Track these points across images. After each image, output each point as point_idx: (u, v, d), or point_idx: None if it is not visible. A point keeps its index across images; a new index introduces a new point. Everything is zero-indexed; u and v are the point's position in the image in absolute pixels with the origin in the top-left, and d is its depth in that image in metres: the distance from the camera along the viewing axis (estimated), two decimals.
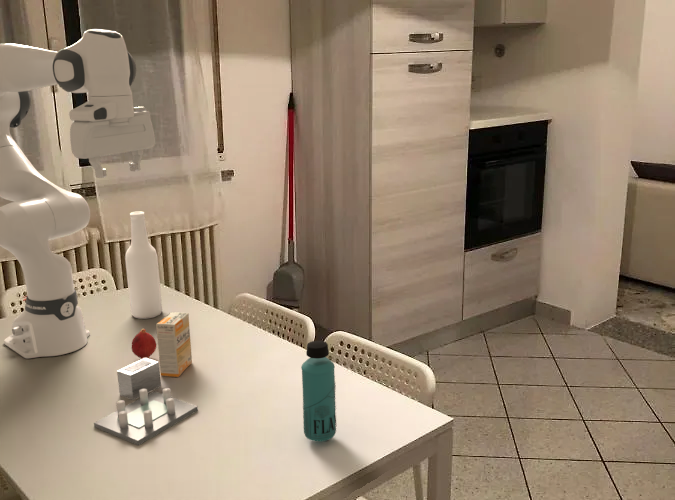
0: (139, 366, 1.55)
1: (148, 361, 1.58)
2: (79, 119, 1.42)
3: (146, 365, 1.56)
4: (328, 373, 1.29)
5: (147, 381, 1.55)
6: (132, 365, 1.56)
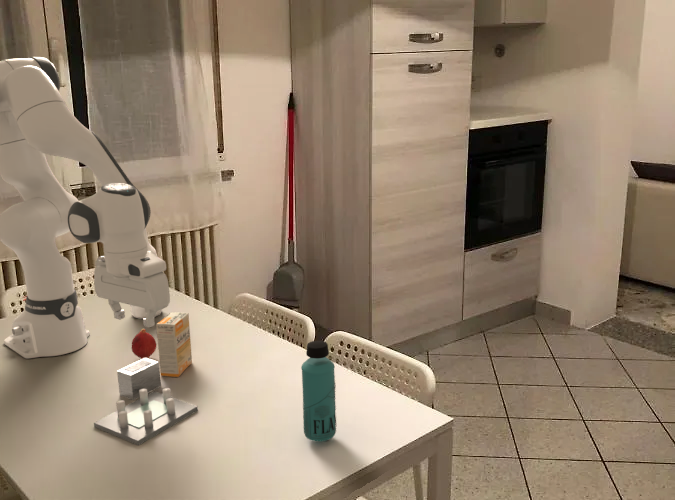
0: (139, 366, 1.55)
1: (148, 361, 1.58)
2: (156, 272, 1.45)
3: (147, 365, 1.56)
4: (328, 373, 1.29)
5: (147, 381, 1.55)
6: (132, 365, 1.56)
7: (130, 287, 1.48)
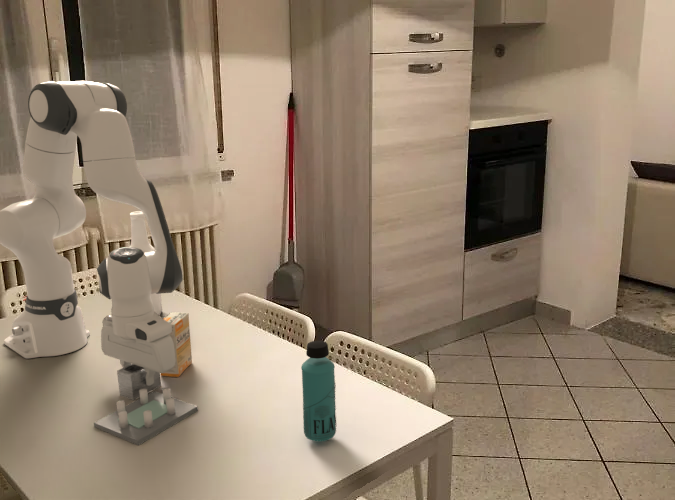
0: (139, 366, 1.55)
1: None
2: (162, 336, 1.49)
3: None
4: (328, 373, 1.29)
5: None
6: (132, 365, 1.56)
7: (137, 348, 1.52)
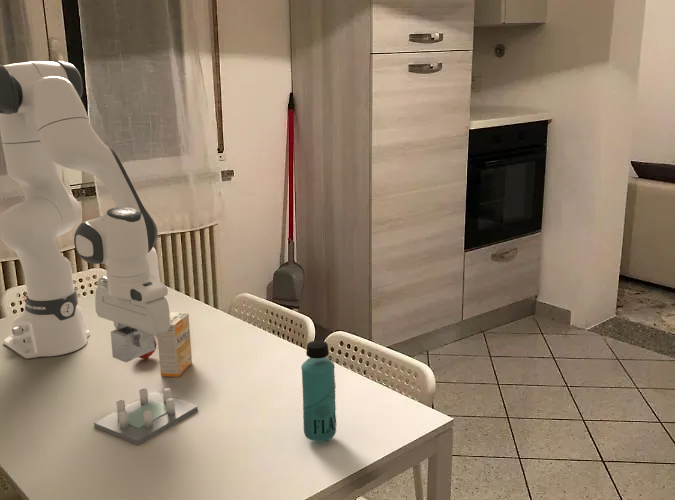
0: (133, 328, 1.53)
1: None
2: (158, 297, 1.46)
3: None
4: (328, 373, 1.29)
5: None
6: (126, 327, 1.54)
7: (131, 310, 1.50)
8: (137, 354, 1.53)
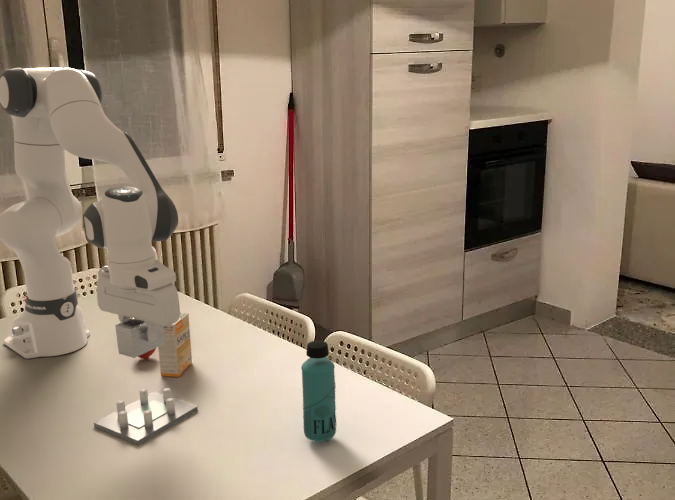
0: (140, 320, 1.39)
1: None
2: (165, 284, 1.32)
3: None
4: (328, 373, 1.29)
5: None
6: (132, 319, 1.39)
7: (137, 300, 1.35)
8: (146, 349, 1.39)
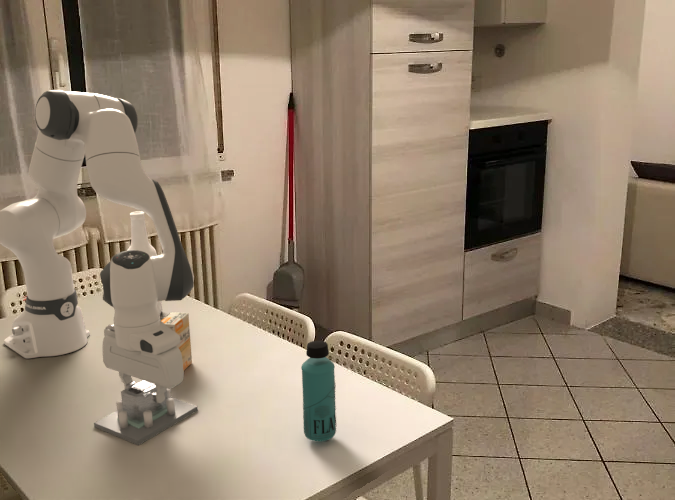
0: (145, 386, 1.42)
1: None
2: (170, 348, 1.35)
3: (153, 385, 1.43)
4: (328, 373, 1.29)
5: (154, 402, 1.43)
6: (137, 385, 1.43)
7: (142, 361, 1.39)
8: None
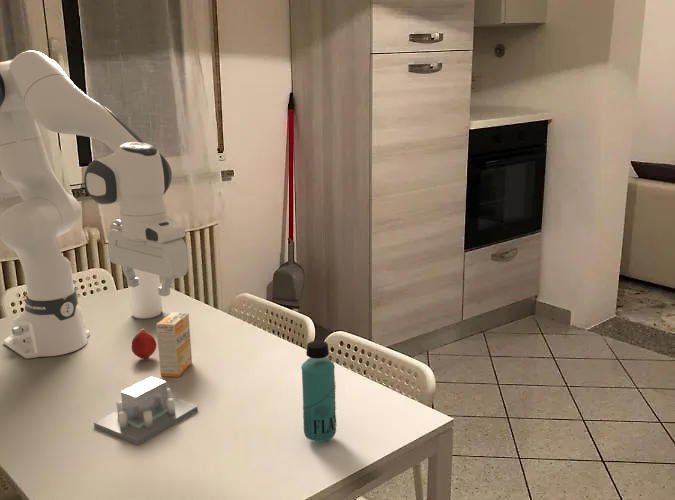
0: (145, 386, 1.42)
1: (154, 381, 1.45)
2: (175, 238, 1.37)
3: (153, 385, 1.43)
4: (328, 373, 1.29)
5: (154, 402, 1.43)
6: (137, 385, 1.43)
7: (147, 253, 1.40)
8: None
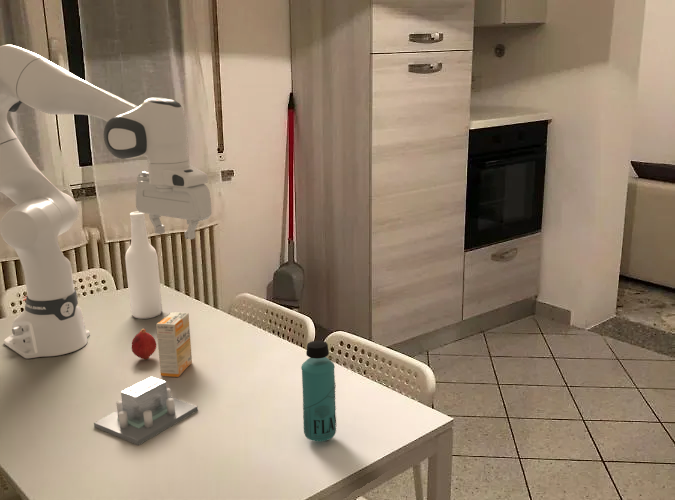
0: (145, 386, 1.42)
1: (154, 381, 1.45)
2: (199, 183, 1.49)
3: (153, 385, 1.43)
4: (328, 373, 1.29)
5: (154, 402, 1.43)
6: (137, 385, 1.43)
7: (173, 199, 1.52)
8: None
